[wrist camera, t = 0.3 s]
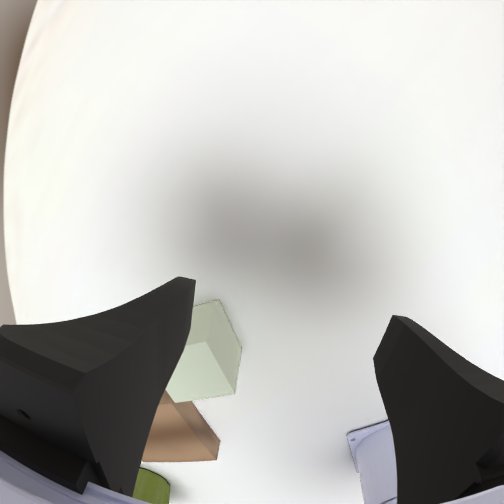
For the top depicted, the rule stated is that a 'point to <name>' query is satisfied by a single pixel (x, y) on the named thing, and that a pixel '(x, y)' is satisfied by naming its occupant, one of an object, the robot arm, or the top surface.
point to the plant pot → (151, 488)
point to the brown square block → (179, 434)
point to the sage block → (207, 357)
